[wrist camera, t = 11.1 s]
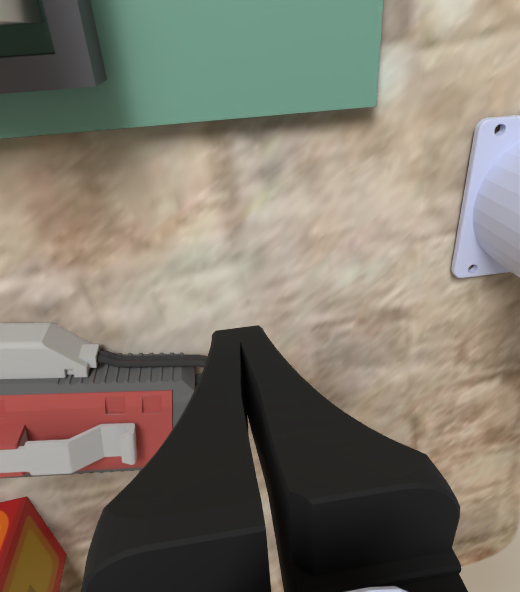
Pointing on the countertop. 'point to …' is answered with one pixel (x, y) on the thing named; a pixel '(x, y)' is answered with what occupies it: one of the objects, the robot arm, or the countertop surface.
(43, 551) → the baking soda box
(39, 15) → the plug
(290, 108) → the board
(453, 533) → the robot arm
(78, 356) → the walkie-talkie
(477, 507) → the countertop surface
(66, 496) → the countertop surface
